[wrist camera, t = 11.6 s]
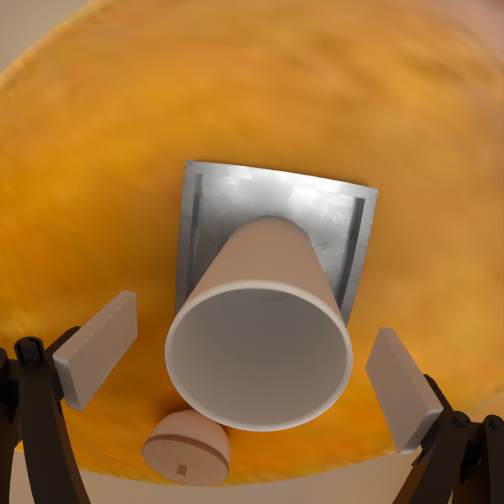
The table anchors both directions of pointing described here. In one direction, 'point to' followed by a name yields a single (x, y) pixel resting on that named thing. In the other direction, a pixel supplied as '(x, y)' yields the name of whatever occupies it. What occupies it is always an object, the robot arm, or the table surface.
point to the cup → (261, 333)
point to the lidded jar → (188, 449)
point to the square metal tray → (273, 204)
